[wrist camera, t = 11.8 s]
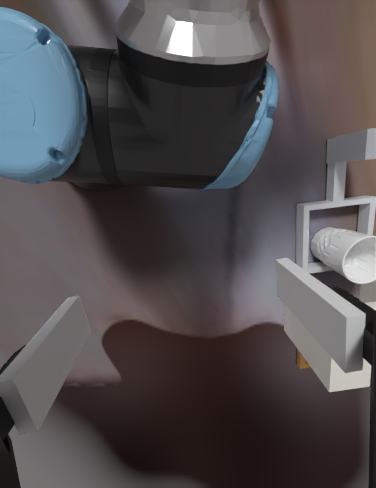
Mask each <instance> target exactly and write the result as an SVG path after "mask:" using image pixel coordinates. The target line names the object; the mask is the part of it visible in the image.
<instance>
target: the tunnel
mask: <svg viewBox="0 0 376 488" xmlns="http://www.w3.org/2000/svg"><path fill="white" fill-rule="evenodd" d="M359 300H361V302H364V303H365V304H367V305H368V306H370V307H371V308H373V309H374V310H376V280H375V281H373V282H370V283H367V284H361V286H360V296H359ZM284 331H285V332H286V334H287V335H288V336H289V338H290V339H291V341H292V342H293V343H294V345H295V346H296V347H297V349H298V350H299V352H300V353H301V354H302V356H303V357H304V358H305V360H306V361H307V362H308V364H309V365H310V367H311V368H312V369H313V371H314V372H315V373H316V375H317V376H318V378H319V379H320V380H321V382H322V383H323V384H324V385H325V387H326V388H327V390H328V391H329V392H334V391H341V390H347V389H354V388H361V387H368V386H370V378H371V365H370V364H369V363H368V362H367V361H366V360H365V359H364V358H363V370H360V371H355V372H349V373H344V371H343V370H342V369H341V368H340V367H339V366H338V365H337V363H336V362H335V361H334V360H333V359H332V358H331V357H330V355H329V354H328V353H327V352H326V351H325V350H324V349H323V347H322V346H321V345H320V344H319V343H318V342H317V341H316V339H315V338H314V337H313V336H312V335H311V334H310V333H309V331H308V330H307V329H306V328H305V327H304V326H303V325H302V323H301V322H300V321H299V320H298V319H297V318H296V317H295V315H294V314H293V313H292V312H291V311H290V310H289V308H288V307H287V306H286V305H285V304H284Z"/></svg>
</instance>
